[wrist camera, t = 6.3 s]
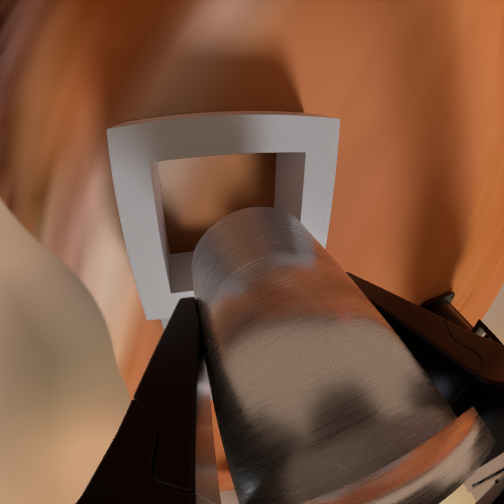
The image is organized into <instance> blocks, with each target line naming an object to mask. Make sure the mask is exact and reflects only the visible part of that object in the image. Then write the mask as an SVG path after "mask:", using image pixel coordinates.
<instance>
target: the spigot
mask: <svg viewBox="0 0 504 504" xmlns="http://www.w3.org/2000/svg"><path fill="white" fill-rule="evenodd" d="M191 272H192V281H193V288H194V295H195V299H196V305H197V312H198V318H199V325H200V331H201V337H202V345H203V352H204V358H205V363H206V369H207V374H208V379H209V384H210V389H211V394H212V399H213V404H214V408H215V413H216V417H217V422H218V426H219V431H220V435H221V439H222V443H223V447H224V451H225V455H226V459H227V463H228V467H229V470H230V474H231V478H232V481H233V485H234V488H235V492H236V495H237V499H238V502H239V504H439V503H440V502H442V501H443V500H444V499H445V498H447V497H448V496H449V495H450V494H452V493H453V492H454V491H455V490H456V489H457V488H459V487H460V486H461V485H462V484H463V483H464V482H465V481H466V480H467V479H468V478H469V477H470V476H471V475H472V474H473V473H474V472H475V471H476V470H477V469H478V468H479V467H480V465H481V464H482V463H483V462H484V461H485V459H486V458H487V457H488V455H489V454H490V452H491V451H492V449H493V447H494V445H495V439H494V437H493V435H492V434H491V432H490V431H489V429H488V428H487V426H486V425H485V423H484V422H483V420H482V419H481V417H480V416H479V414H478V413H477V411H476V410H475V408H474V407H473V406H472V407H471V408H470V409H468V410H467V411H466V412H465V413H463V414H462V415H461V416H459V417H457V416H456V414H455V413H454V411H453V410H452V408H451V407H450V405H449V404H448V402H447V401H446V400H445V398H444V397H443V395H442V394H441V392H440V391H439V390H438V388H437V387H436V385H435V384H434V383H433V381H432V380H431V378H430V377H429V376H428V374H427V373H426V372H425V370H424V369H423V368H422V366H421V365H420V364H419V362H418V361H417V360H416V358H415V357H414V356H413V354H412V353H411V352H410V350H409V349H408V348H407V346H406V345H405V344H404V343H403V341H402V340H401V339H400V337H399V336H398V335H397V334H396V332H395V331H394V330H393V329H392V327H391V326H390V325H389V324H388V322H387V321H386V320H385V319H384V317H383V316H382V315H381V314H380V312H379V311H378V310H377V309H376V308H375V306H374V305H373V304H372V303H371V302H370V300H369V299H368V298H367V297H366V296H365V294H364V293H363V292H362V291H361V290H360V288H359V287H358V286H357V285H356V284H355V283H354V281H353V280H352V279H351V278H350V277H349V276H348V274H347V273H346V272H345V271H344V270H343V269H342V268H341V266H340V265H339V264H338V263H337V262H336V261H335V260H334V259H333V257H332V256H331V255H330V254H329V253H328V252H327V251H326V250H325V248H324V247H323V246H322V245H321V244H320V243H319V242H318V241H317V240H316V239H315V237H314V236H313V235H312V234H311V233H310V232H309V231H308V230H307V229H306V228H305V227H304V226H303V224H302V223H301V222H300V221H299V220H298V219H296V218H295V217H294V216H292V215H291V214H289V213H287V212H285V211H283V210H280V209H276V208H272V207H250V208H245V209H241V210H238V211H235V212H233V213H230V214H228V215H226V216H225V217H223V218H221V219H220V220H218V221H217V222H216V223H214V224H213V225H212V226H211V227H210V228H209V229H208V230H207V231H206V232H205V233H204V235H203V236H202V237H201V239H200V240H199V242H198V244H197V246H196V248H195V250H194V253H193V257H192V264H191Z"/></svg>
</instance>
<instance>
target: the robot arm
mask: <svg viewBox="0 0 504 504" xmlns="http://www.w3.org/2000/svg"><path fill="white" fill-rule="evenodd" d="M346 273H347V274H348V276H349V277H350V278H351V279H352V280H353V281H354V283H355V284H356V285H357V286H358V287H359V288H360V290H361V291H362V292H363V293H364V294H365V296H366V297H367V298H368V299H369V300H370V302H371V303H372V304H373V305H374V306H375V308H376V309H377V310H378V311H379V312H380V314H381V315H382V316H383V317H384V319H385V320H386V321H387V322H388V324H389V325H390V326H391V327H392V329H393V330H394V331H395V332H396V334H397V335H398V336H399V337H400V339H401V340H402V341H403V343H404V344H405V345H406V346H407V348H408V349H409V350H410V352H411V353H412V354H413V356H414V357H415V358H416V360H417V361H418V362H419V364H420V365H421V366H422V368H423V369H424V370H425V372H426V373H427V374H428V376H429V377H430V378H431V380H432V381H433V383H434V384H435V385H436V387H437V388H438V390H439V391H440V392H441V394H442V395H443V397H444V398H445V400H446V401H447V402H448V404H449V405H450V407H451V408H452V410H453V411H454V413H455V414H456V416H457V417H459V416H461V415H462V414H463V413H465V412H466V411H467V410H468V409H470V408H471V407H472V406H473V407H474V408H475V410H476V411H477V413H478V414H479V416H480V417H481V419H482V420H483V422H484V423H485V425H486V426H487V428H488V429H489V431H490V432H491V434H492V435H493V437H494V439H495V445H494V447H493V449H492V451H491V452H490V454H489V455H488V457H487V458H486V459H485V461H484V462H483V463H482V464H481V465H480V467H479V468H478V469H477V470H476V471H475V472H474V473H473V474H472V475H471V476H470V477H469V478H468V479H467V480H466V481H465V482H464V485H465V487H466V489H467V491H468V492H470V491H471V492H472V494H473V496H474V498H475V500H476V503H475V504H504V345H503V344H502V343H501V342H500V341H499V339H498V338H497V337H496V336H495V335H494V334H493V333H492V332H491V331H490V330H489V329H488V327H487V326H486V325H485V324H484V323H483V322H482V321H481V320H480V319H479V320H478V321H477V324H476V325H475V326H474V328H473V327H472V325H471V324H470V323H469V322H468V321H467V320H466V319H465V318H464V317H463V316H462V315H461V314H460V313H459V312H458V311H457V310H456V309H455V308H454V307H453V306H452V305H451V302H452V300H453V298H454V295H455V293H454V292H453V291H452V292H449V293H447V294H445V295H442V296H440V297H437V298H435V299H432V300H430V301H427V302H425V303H423V304H422V306H421V307H419V306H417V305H415V304H413V303H411V302H409V301H407V300H405V299H403V298H401V297H399V296H397V295H395V294H393V293H391V292H389V291H386V290H384V289H382V288H380V287H378V286H376V285H374V284H372V283H370V282H368V281H366V280H363V279H361V278H359V277H357V276H355V275H353V274H351V273H349V272H346ZM484 332H485V333H486V335H485V336H484V337H482V336H481V335H482V334H483V333H484ZM133 398H134V399H135V400H134V399H133V400H132V401H131V403H130V405H129V408H128V410H127V413H126V415H125V417H124V419H123V421H122V423H121V425H120V427H119V430H118V432H117V434H116V435H115V437H114V439H113V441H112V443H111V445H110V447H109V448H108V450H107V452H106V454H105V455H104V457H103V459H102V461H101V462H100V464H99V466H98V468H97V469H96V471H95V473H94V475H93V476H92V478H91V480H90V482H89V484H88V485H87V487H86V489H85V491H84V492H83V494H82V496H81V497H80V499H79V500H78V501H77V502H76V503H75V504H221V499H220V491H219V483H218V475H217V467H216V457H215V448H214V437H213V426H212V415H211V402H210V387H209V379H208V374H207V369H206V363H205V358H204V352H203V345H202V337H201V331H200V325H199V318H198V312H197V305H196V299H195V297H186V298H181V299H179V301H178V303H177V305H176V307H175V309H174V311H173V313H172V315H171V317H170V319H169V321H168V323H167V325H166V327H165V330H164V332H163V334H162V336H161V338H160V340H159V342H158V344H157V346H156V348H155V350H154V353H153V355H152V357H151V359H150V361H149V363H148V366H147V368H146V370H145V372H144V374H143V376H142V379H141V381H140V383H139V385H138V388H137V390H136V392H135V394H134V397H133Z"/></svg>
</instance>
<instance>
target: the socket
mask: <svg viewBox="0 0 504 504" xmlns="http://www.w3.org/2000/svg"><path fill="white" fill-rule="evenodd" d="M339 129H340V119H338V118H333V117H328V116H322V115H317V114H311V113H304V112H286V111H222V112H204V113H190V114H179V115H170V116H161V117H154V118H146V119H140V120H133V121H128V122H123V123H121V124H118V125H116V126H113V127H111V128H108V129H106V130H107V140H108V149H109V157H110V164H111V171H112V178H113V184H114V190H115V196H116V202H117V207H118V212H119V217H120V222H121V227H122V231H123V236H124V240H125V244H126V249H127V253H128V257H129V261H130V264H131V268H132V272H133V276H134V279H135V283H136V286H137V290H138V293H139V296H140V300H141V303H142V306H143V309H144V312H145V315H146V318H147V320H155V319H161V322H162V325H163V329H164V330H165V327H166V325H167V323H168V321H169V319H170V317H171V315H172V313H173V311H174V309H175V307H176V305H177V303H178V301H179V299H181V298H186V297H195V295H194V288H193V281H192V272H191V264H192V257H193V253H194V251H191V252H183V253H176V254H170V251H169V245H168V239H167V232H166V225H165V218H164V211H163V204H162V196H161V187H160V178H159V168H158V161H165V160H173V159H182V158H191V157H202V156H214V155H228V154H246V153H275V152H276V174H275V199H274V208H276V209H280V210H283V211H285V212H287V213H289V214H291V215H292V216H294V217H295V218H296V219H298V220H299V221H300V222H301V223H302V224H303V226H304V227H305V228H306V229H307V230H308V231H309V232H310V233H311V234H312V235H313V236H314V237H315V239H316V240H317V241H318V242H319V243H320V244H321V245H322V246H323V247H324V248H326V241H327V235H328V228H329V221H330V214H331V207H332V199H333V191H334V182H335V173H336V164H337V153H338V142H339Z"/></svg>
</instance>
